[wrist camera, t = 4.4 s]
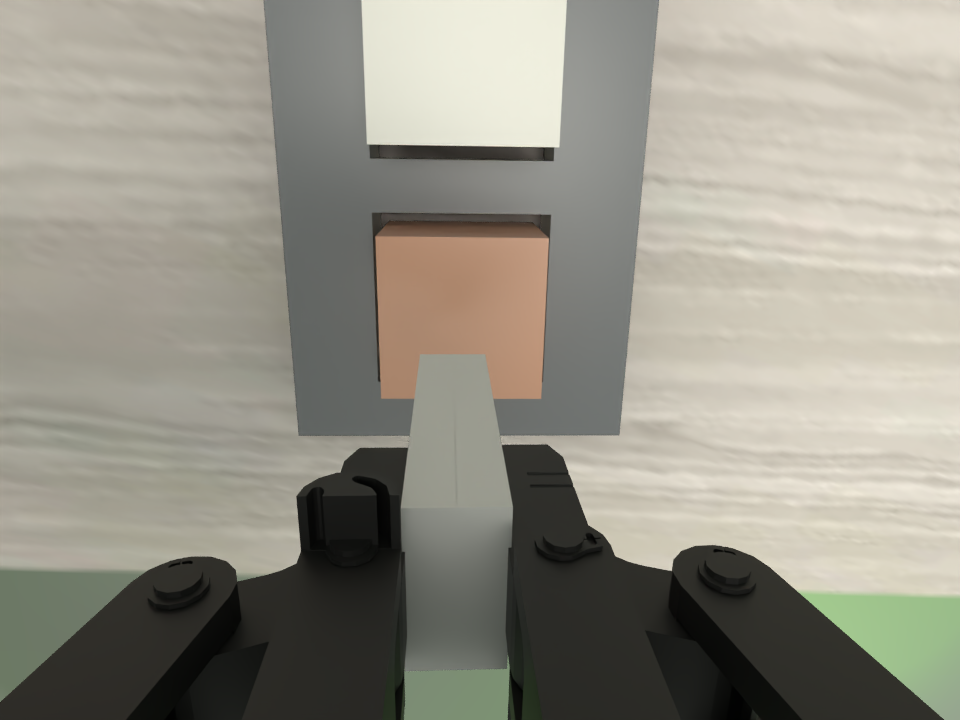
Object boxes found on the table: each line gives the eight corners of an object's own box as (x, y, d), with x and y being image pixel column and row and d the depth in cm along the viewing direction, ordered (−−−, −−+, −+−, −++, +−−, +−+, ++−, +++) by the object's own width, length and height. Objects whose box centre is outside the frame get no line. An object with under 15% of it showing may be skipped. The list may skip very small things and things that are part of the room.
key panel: (313, 408, 31) (298, 435, 28) (253, -432, 21) (221, -521, 18) (604, 409, 31) (619, 435, 28) (671, -411, 22) (704, -495, 19)
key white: (384, 144, 25) (366, 144, 20) (378, -34, 23) (358, -81, 18) (539, 147, 25) (559, 147, 20) (547, -30, 23) (570, -75, 18)
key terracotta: (393, 357, 29) (381, 398, 24) (389, 220, 27) (375, 236, 22) (527, 357, 29) (541, 398, 24) (532, 222, 27) (549, 238, 22)
